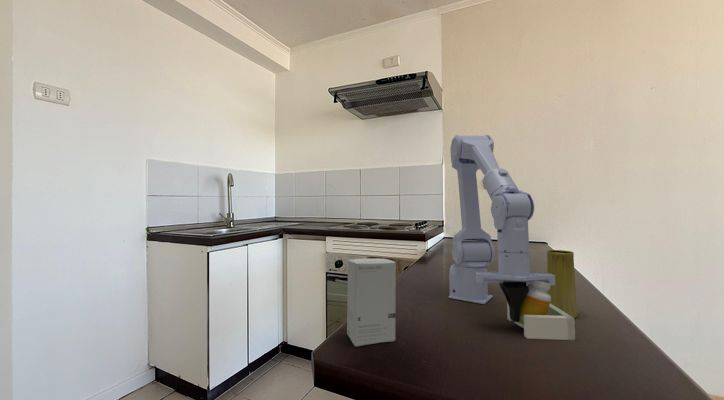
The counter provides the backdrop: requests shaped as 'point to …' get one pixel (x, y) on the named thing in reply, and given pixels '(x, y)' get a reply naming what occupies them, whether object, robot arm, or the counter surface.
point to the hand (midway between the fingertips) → (515, 320)
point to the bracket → (548, 325)
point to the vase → (562, 281)
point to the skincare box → (371, 301)
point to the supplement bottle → (535, 300)
